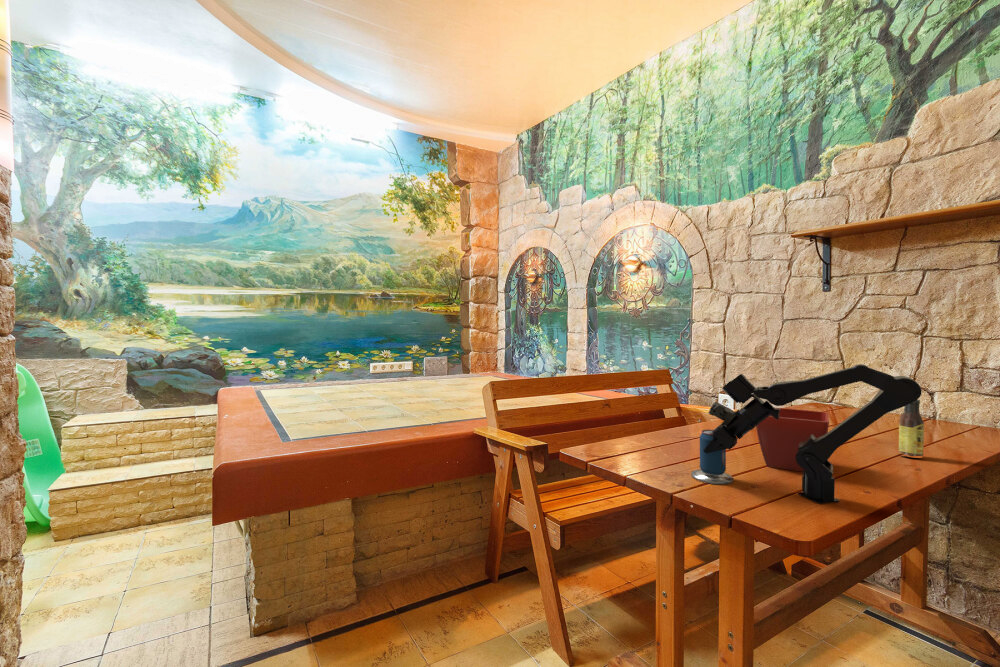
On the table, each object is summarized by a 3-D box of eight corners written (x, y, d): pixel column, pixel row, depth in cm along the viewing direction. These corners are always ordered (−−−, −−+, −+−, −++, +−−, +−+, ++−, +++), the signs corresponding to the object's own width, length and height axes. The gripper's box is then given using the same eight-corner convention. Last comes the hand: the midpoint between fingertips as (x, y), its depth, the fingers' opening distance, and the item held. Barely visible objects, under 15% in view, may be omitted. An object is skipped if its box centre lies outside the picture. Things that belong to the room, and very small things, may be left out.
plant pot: (759, 453, 156) (760, 405, 156) (826, 463, 145) (827, 411, 145) (753, 467, 141) (753, 414, 140) (828, 479, 130) (829, 422, 129)
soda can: (730, 476, 127) (730, 434, 127) (705, 476, 128) (704, 434, 127) (719, 468, 134) (719, 428, 134) (696, 468, 134) (695, 428, 134)
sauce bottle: (922, 461, 148) (923, 401, 147) (897, 456, 153) (898, 399, 152) (924, 457, 152) (925, 399, 152) (900, 453, 157) (901, 396, 156)
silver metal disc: (741, 483, 126) (741, 480, 126) (707, 485, 124) (707, 482, 124) (715, 470, 137) (715, 467, 137) (683, 473, 135) (683, 470, 135)
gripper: (733, 390, 135) (694, 422, 142) (720, 398, 120) (678, 433, 127) (763, 419, 131) (721, 450, 138) (754, 431, 116) (708, 465, 123)
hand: (707, 449), depth 131 cm, fingers closed on soda can, 6 cm apart
